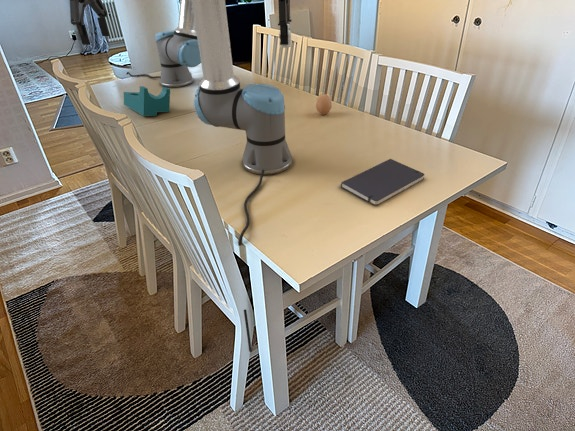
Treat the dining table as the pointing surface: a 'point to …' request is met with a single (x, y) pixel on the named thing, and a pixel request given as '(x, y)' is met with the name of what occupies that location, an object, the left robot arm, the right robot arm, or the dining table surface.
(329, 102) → the egg
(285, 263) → the dining table surface
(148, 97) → the teal cradle holder
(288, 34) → the pill bottle
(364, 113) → the dining table surface
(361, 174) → the notebook
